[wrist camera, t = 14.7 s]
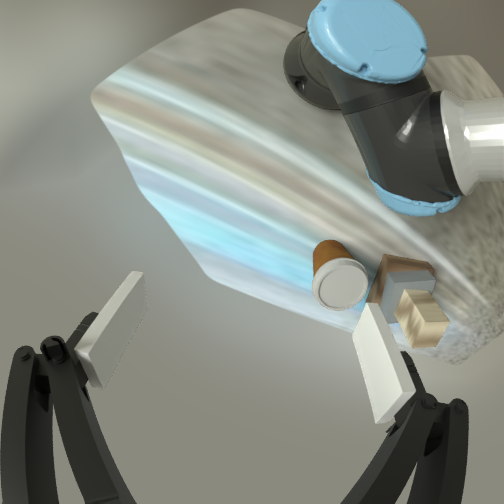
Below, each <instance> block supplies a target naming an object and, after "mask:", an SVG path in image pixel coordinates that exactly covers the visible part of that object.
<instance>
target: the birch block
mask: <svg viewBox="0 0 504 504" xmlns="http://www.w3.org/2000/svg"><path fill="white" fill-rule="evenodd" d="M394 315H395V317H396V318H397V320H398V322H399V324H400V326H401V328H402V330H403V332H404V334H405V336H406V338H407V340H408V342H409V344H410V346H411V348H425V347H436V345H437V344H438V342H439V340H440V339H441V337H442V335H443V334H444V332H445V330H446V328H447V326H448V325H449V323H450V321H449V319H448V318H447V316H446V315H445V314H444V312H443V311H442V309H441V308H440V306H439V305H438V304H437V302H436V301H435V300H434V298H433V297H432V295H431V294H430V293H429V291H428V290H412V289H404V291H403V294H402V296H401V299H400V301H399V304H398V306H397V308H396V311H395V313H394Z"/></svg>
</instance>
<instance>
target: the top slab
mask: <svg viewBox="0 0 504 504" xmlns="http://www.w3.org/2000/svg"><path fill="white" fill-rule="evenodd" d="M435 282H436V279H435V278H434V277H433V276H432V274H431V273H430V272H429V271H428V270H417V271H400V272H387V276H386V281H385V285H384V290H383V294H382V299H381V303H380V309H381V311H382V313H383V315H384V317H385V320H386V322H387V324H391V323H399V322H398V320H397V318H396V317H395V315H394V313H395V311H396V308H397V306H398V304H399V301H400V299H401V296H402V294H403V291H404V289H412V290H428V291H429V293H430V294H431V295H432V292H433V289H434V285H435Z"/></svg>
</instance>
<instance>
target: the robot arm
mask: <svg viewBox="0 0 504 504" xmlns="http://www.w3.org/2000/svg"><path fill="white" fill-rule="evenodd" d="M427 50H428V49H427V42H426V39H425V36H424V33H423V31H422V29H421V27H420V26H419V24H418V23H417V21H416V20H415V19H414V18H413V16H412V15H411V14H410V13H409V12H408V11H407V10H405V9H404V8H403V7H402V6H401V5H399V4H398V3H396V2H395V1H393V0H322V1H321V2H320V3H319V4H318V6H317V7H316V8H315V9H314V10H313V11H312V13H311V14H310V17H309V19H308V24H307V27H306V30H305V31H303V32H301V33H299V34H298V35H297V36H296V37H294V38H293V40H292V41H291V42H290V43H289V45H288V47H287V49H286V52H285V56H284V63H283V65H284V73H285V76H286V79H287V81H288V83H289V85H290V86H291V88H292V89H293V90H294V91H295V92H296V93H297V94H298V95H299V96H300V97H301V98H302V99H304V100H305V101H307V102H309V103H310V104H312V105H315V106H318V107H321V108H326V109H341V111H342V113H343V116H344V118H345V120H346V122H347V124H348V126H349V129H350V131H351V133H352V135H353V137H354V140H355V142H356V144H357V146H358V149H359V151H360V153H361V156H362V158H363V161H364V163H365V165H366V172H367V175H368V178H369V179H370V181H371V182H372V183H373V185H374V188H375V190H376V193H377V195H378V197H379V199H380V200H381V201H382V203H383V204H384V205H385V206H387V207H388V208H390V209H391V210H393V211H395V212H398V213H400V214H404V215H409V216H418V217H424V216H433V215H436V212H441V213H445V212H447V211H449V210H451V209H453V208H454V207H455V206H456V205H457V204H458V203H459V201H460V199H461V196H469V195H471V194H472V193H473V191H474V190H475V189H476V187H477V186H478V185H479V183H481V182H482V181H500V182H504V97H499V98H488V99H479V100H471V101H464V100H462V99H460V98H459V97H457V96H456V95H455V94H453V93H452V92H450V91H449V90H442V91H437V92H433V91H432V89H431V87H430V85H429V83H428V80H427V78H426V76H425V74H424V71H423V69H422V68H423V67H424V65H425V63H426V60H427V59H426V57H425V54H426V52H427ZM147 310H148V307H147V299H146V291H145V281H144V273H141V272H136V271H132V272H131V273H130V274H129V275H128V277H127V278H126V279H125V280H124V282H123V283H122V284H121V286H120V287H119V288H118V289H117V291H116V292H115V293H114V295H113V296H112V297H111V298H110V300H109V301H108V303H107V304H106V305H105V307H104V308H103V309H102V310H101V312H100V313H95V312H92V313H90V314H89V315H87V316H86V317H85V318H84V319H83V320H82V322H81V323H80V325H79V326H78V327H77V328H76V330H75V331H74V332H73V334H72V335H71V337H70V338H69V339H68V341H67V342H66V343H65V342H64V340H63V339H62V338H61V337H59V336H50V337H47V338H46V339H45V340H44V341H43V342H42V343H41V346H40V350H41V352H42V354H36V353H35V352H34V350H33V348H32V347H30V346H22V347H20V348H18V349H17V350H16V352H15V354H14V357H13V361H12V365H11V370H10V375H9V379H8V384H7V390H6V396H5V403H4V410H3V419H2V431H1V450H0V453H1V454H0V465H1V466H0V467H1V469H0V470H1V488H2V499H3V502H2V504H59V500H58V494H57V487H56V479H55V470H54V457H53V435H52V416H53V405H54V409H55V414H56V418H57V422H58V426H59V430H60V434H61V437H62V441H63V444H64V447H65V451H66V454H67V457H68V460H69V463H70V465H71V468H72V471H73V474H74V476H75V479H76V481H77V484H78V486H79V489H80V491H81V493H82V496H83V498H84V501H85V504H136V502H135V500H134V499H133V497H132V495H131V493H130V492H129V490H128V488H127V486H126V484H125V482H124V480H123V478H122V476H121V475H120V472H119V470H118V468H117V466H116V464H115V462H114V460H113V458H112V456H111V453H110V451H109V449H108V446H107V444H106V441H105V439H104V437H103V434H102V432H101V429H100V426H99V424H98V421H97V418H96V415H95V412H94V410H93V406H92V403H91V400H90V397H89V394H88V390H87V388H86V386H85V385H86V383H87V381H88V380H89V382H90V383H91V385H92V387H95V388H98V389H101V390H103V391H105V389H106V387H107V385H108V383H109V381H110V379H111V377H112V375H113V373H114V371H115V369H116V367H117V365H118V363H119V362H120V360H121V358H122V356H123V354H124V352H125V350H126V348H127V346H128V345H129V343H130V341H131V339H132V337H133V335H134V333H135V332H136V330H137V328H138V326H139V324H140V323H141V321H142V319H143V317H144V315H145V314H146V312H147ZM352 338H353V341H354V344H355V348H356V351H357V354H358V358H359V362H360V365H361V369H362V372H363V376H364V379H365V383H366V387H367V391H368V394H369V398H370V402H371V406H372V410H373V414H374V419H375V423H376V424H377V423H386V422H389V421H390V420H391V419H392V418H393V417H395V421H396V422H395V423H394V424H393V425H392V426H391V427H390V428H389V429H388V430H387V431H386V432H387V433H388V432H389V433H388V434H387V436H386V438H385V440H384V442H383V443H382V445H381V447H380V448H379V450H378V452H377V453H376V455H375V456H374V458H373V459H372V461H371V462H370V464H369V465H368V467H367V468H366V470H365V471H364V473H363V474H362V476H361V477H360V479H359V480H358V481H357V483H356V484H355V485H354V487H353V488H352V490H351V491H350V492H349V493H348V495H347V496H346V497H345V499H344V500H343V501H342V502H341V504H395V502H396V501H397V499H398V497H399V496H400V494H401V492H402V490H403V489H404V487H405V485H406V483H407V481H408V479H409V477H410V475H411V473H412V471H413V469H414V467H415V465H416V463H417V467H416V472H415V476H414V480H413V484H412V487H411V491H410V495H409V498H408V501H407V504H461V500H462V495H463V489H464V482H465V475H466V465H467V454H468V430H469V425H468V424H469V421H468V420H469V418H468V417H469V415H468V407H467V405H466V403H465V402H464V401H463V400H461V399H457V398H456V399H453V400H452V401H451V402H450V403H449V404H445V403H439V402H438V401H437V399H436V398H435V397H434V396H433V395H431V394H429V393H426V391H425V388H424V386H423V383H422V381H421V379H420V376H419V374H418V372H417V369H416V367H415V365H414V363H413V360H412V358H411V357H410V356H409V355H408V353H407V352H406V351H400V350H399V348H398V346H397V343H396V341H395V339H394V337H393V335H392V332H391V330H390V328H389V326H388V324H387V322H386V320H385V317H384V315H383V313H382V311H381V309H380V307H379V305H378V303H368V302H367V303H366V305H365V308H364V310H363V312H362V315H361V317H360V319H359V322H358V324H357V326H356V328H355V331H354V333H353V335H352ZM417 461H418V462H417Z"/></svg>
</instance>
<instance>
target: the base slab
mask: <svg viewBox="0 0 504 504" xmlns="http://www.w3.org/2000/svg"><path fill="white" fill-rule="evenodd" d="M417 270H428V271H429V272H430V273H431V274H432V275H433V272H434V269H433V268H432V266H431V265H430V264H429V263H428V262H424V261H419V260H414V259H408V258H403V257H398V256H392V255H387V254H384V256H383V259H382V261H381V264H380V267H379V269H378V272H377V275H376V277H375V280H374V282H373V285H372V287H371V290H370V292H369V295H368V297H367V299H366V303H367V302H368V303H378V305H379V307H380V303H381V299H382V294H383V290H384V285H385V281H386V276H387V272H400V271H417Z"/></svg>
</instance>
